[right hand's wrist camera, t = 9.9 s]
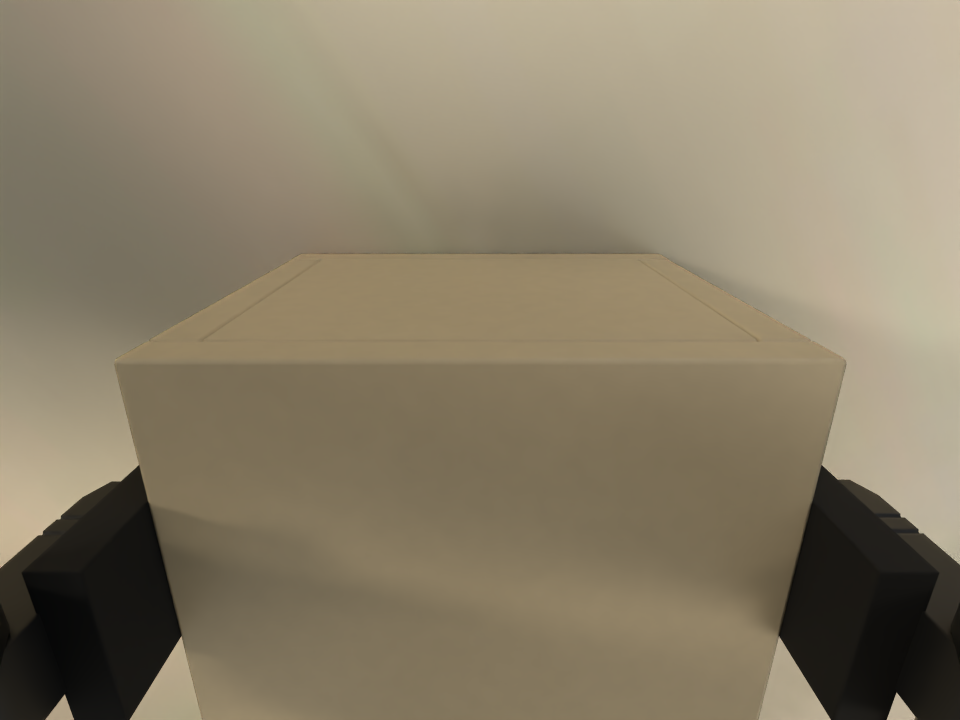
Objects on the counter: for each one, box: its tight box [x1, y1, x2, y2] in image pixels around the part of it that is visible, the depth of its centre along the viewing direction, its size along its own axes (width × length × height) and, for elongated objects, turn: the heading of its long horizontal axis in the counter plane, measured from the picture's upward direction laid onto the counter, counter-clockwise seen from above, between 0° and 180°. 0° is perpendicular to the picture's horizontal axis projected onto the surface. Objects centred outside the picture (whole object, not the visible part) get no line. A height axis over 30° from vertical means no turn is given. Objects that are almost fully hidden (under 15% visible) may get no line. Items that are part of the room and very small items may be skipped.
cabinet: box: [114, 254, 846, 720], centre depth 15 cm, size 20×10×9 cm, turn 0°
